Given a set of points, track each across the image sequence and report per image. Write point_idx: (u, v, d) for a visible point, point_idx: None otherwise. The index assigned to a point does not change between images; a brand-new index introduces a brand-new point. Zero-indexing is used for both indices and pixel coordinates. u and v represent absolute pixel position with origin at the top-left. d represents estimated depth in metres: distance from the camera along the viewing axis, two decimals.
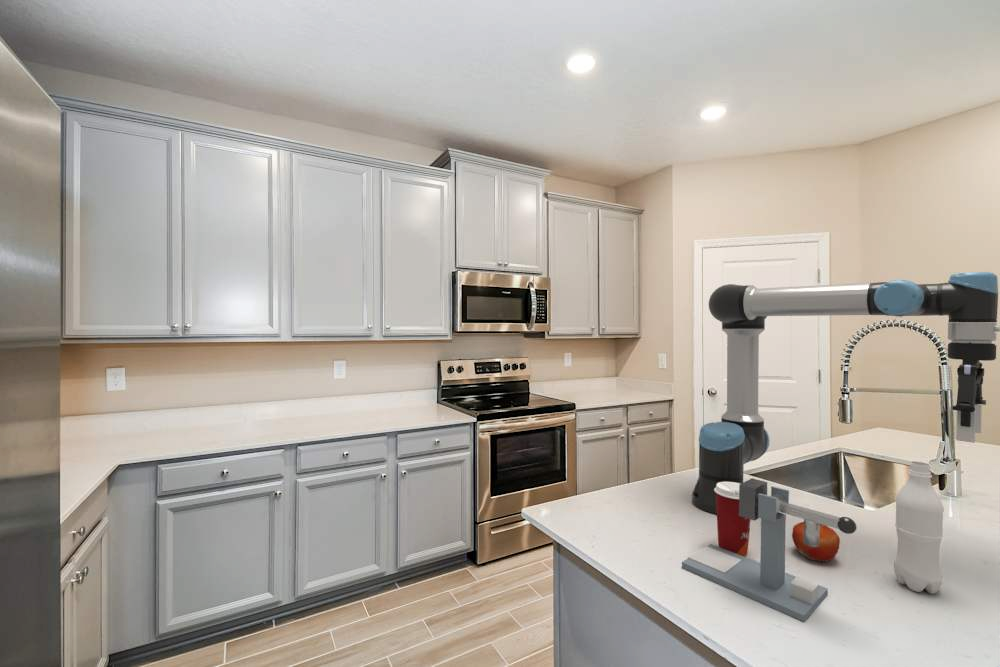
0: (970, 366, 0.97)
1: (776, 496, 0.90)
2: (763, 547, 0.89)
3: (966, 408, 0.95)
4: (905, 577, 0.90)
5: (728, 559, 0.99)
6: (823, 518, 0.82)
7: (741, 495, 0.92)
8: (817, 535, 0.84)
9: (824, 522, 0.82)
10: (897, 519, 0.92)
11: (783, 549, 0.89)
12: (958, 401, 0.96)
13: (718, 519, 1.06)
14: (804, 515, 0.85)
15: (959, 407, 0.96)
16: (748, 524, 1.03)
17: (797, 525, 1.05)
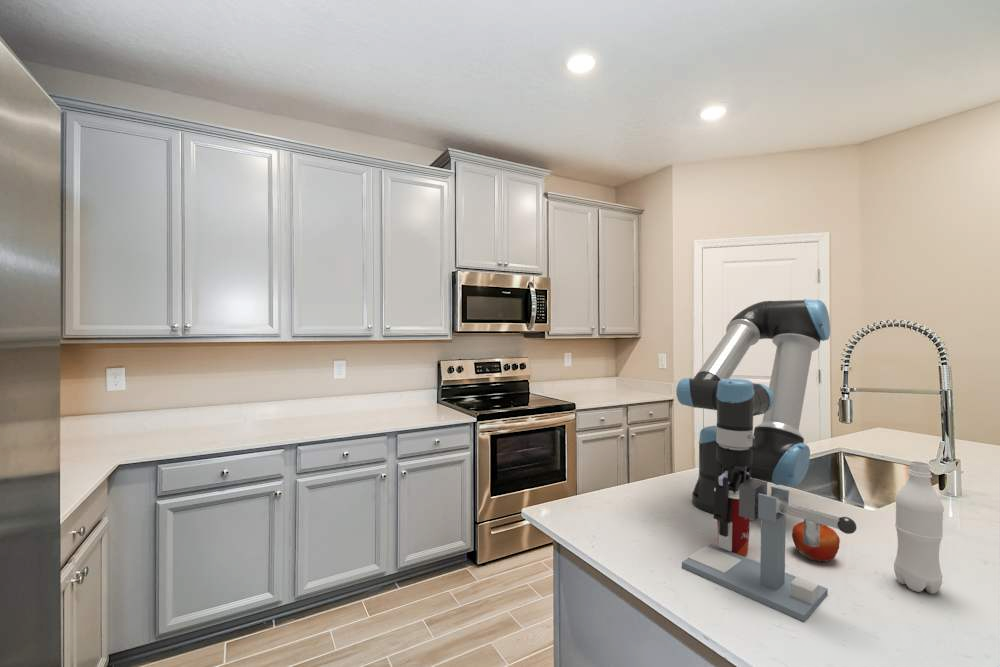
0: (722, 479, 1.01)
1: (776, 496, 0.90)
2: (763, 547, 0.89)
3: (720, 520, 1.01)
4: (905, 577, 0.90)
5: (728, 559, 0.99)
6: (823, 518, 0.82)
7: (741, 495, 0.92)
8: (817, 535, 0.84)
9: (824, 522, 0.82)
10: (897, 519, 0.92)
11: (783, 549, 0.89)
12: (714, 513, 1.02)
13: None
14: (804, 515, 0.85)
15: (716, 518, 1.02)
16: (748, 524, 1.03)
17: (797, 525, 1.05)
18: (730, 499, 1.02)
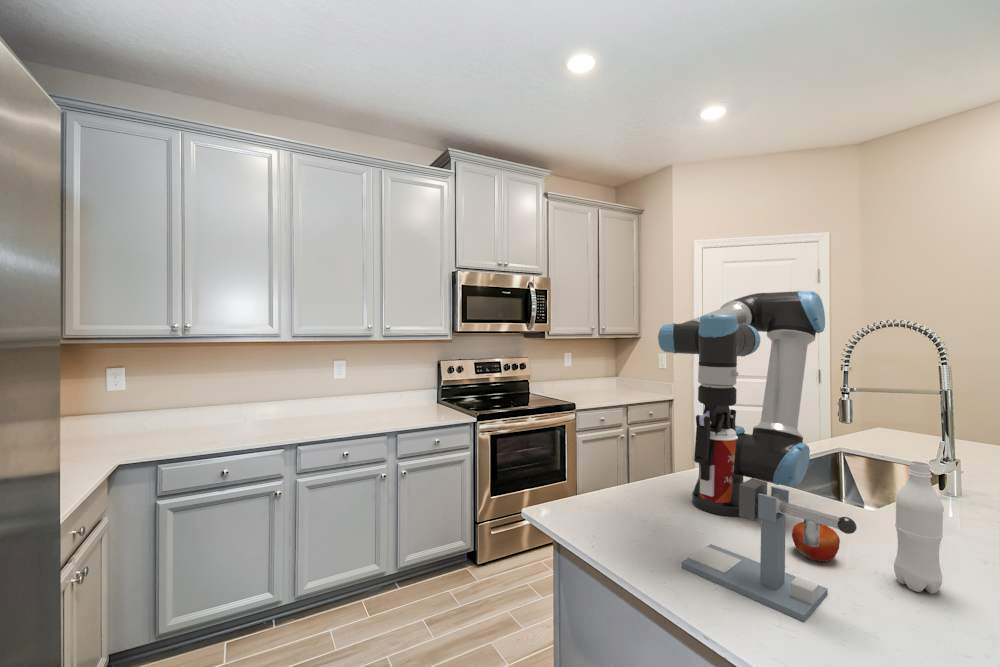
0: (703, 418, 0.94)
1: (776, 496, 0.90)
2: (763, 547, 0.89)
3: (701, 463, 0.94)
4: (905, 577, 0.90)
5: (728, 559, 0.99)
6: (823, 518, 0.82)
7: (741, 495, 0.92)
8: (817, 535, 0.84)
9: (824, 522, 0.82)
10: (897, 519, 0.92)
11: (783, 549, 0.89)
12: (695, 455, 0.95)
13: None
14: (804, 515, 0.85)
15: (696, 461, 0.95)
16: (731, 468, 0.96)
17: (797, 525, 1.05)
18: (712, 441, 0.95)
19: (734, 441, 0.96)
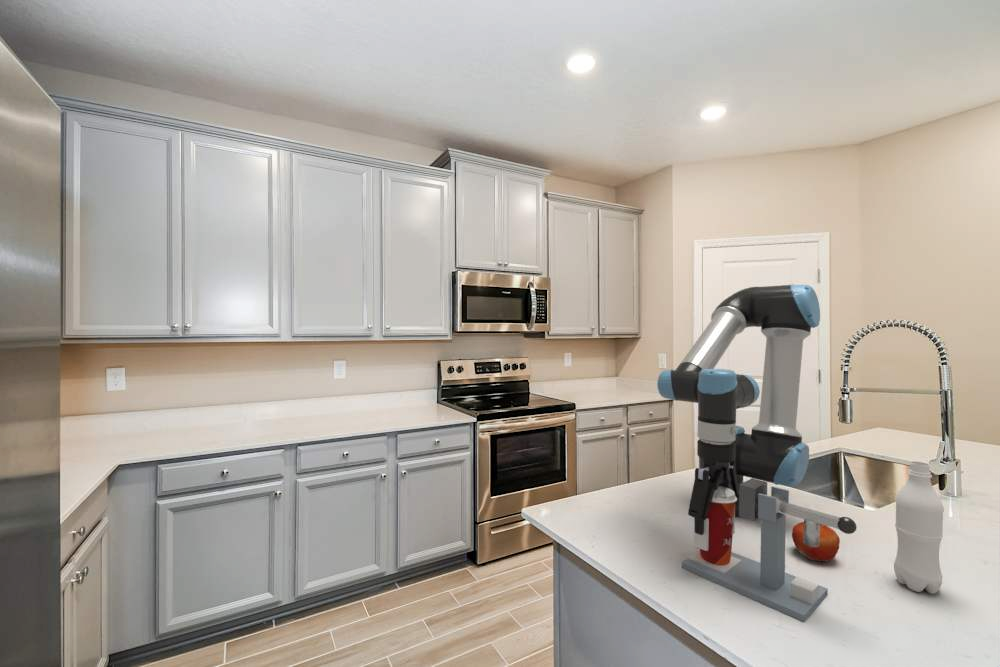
0: (702, 471, 0.94)
1: (776, 496, 0.90)
2: (763, 547, 0.89)
3: (695, 517, 0.93)
4: (905, 577, 0.90)
5: None
6: (823, 518, 0.82)
7: (741, 495, 0.92)
8: (817, 535, 0.84)
9: (824, 522, 0.82)
10: (897, 519, 0.92)
11: (783, 549, 0.89)
12: (690, 508, 0.94)
13: None
14: (804, 515, 0.85)
15: (690, 515, 0.93)
16: (731, 530, 0.96)
17: (797, 525, 1.05)
18: (709, 495, 0.95)
19: (733, 503, 0.96)
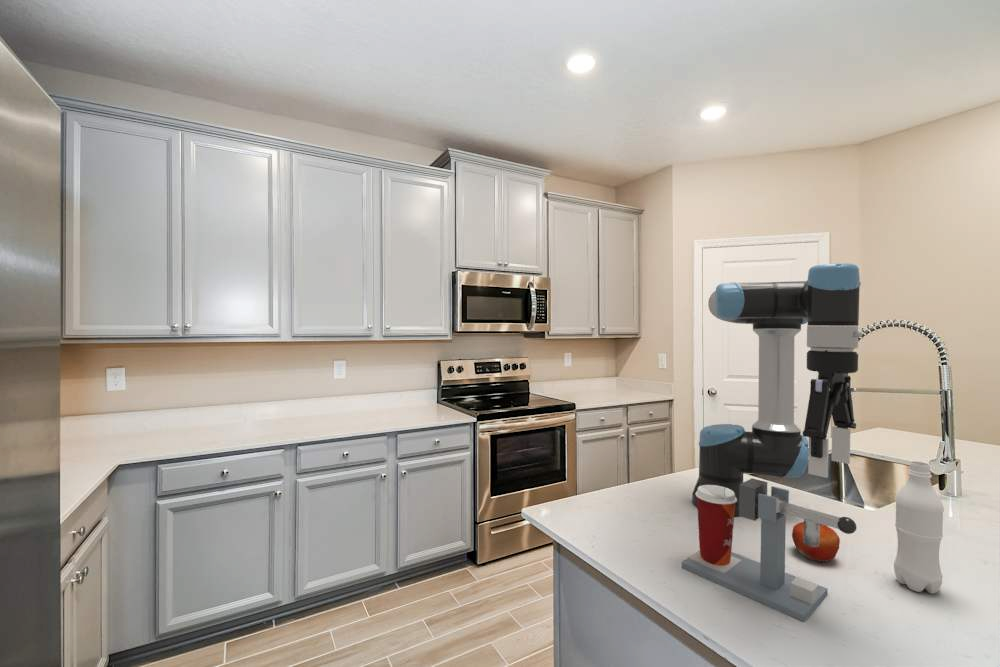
0: (822, 381, 0.77)
1: (776, 496, 0.90)
2: (763, 547, 0.89)
3: (814, 435, 0.76)
4: (905, 577, 0.90)
5: None
6: (823, 518, 0.82)
7: (741, 495, 0.92)
8: (817, 535, 0.84)
9: (824, 522, 0.82)
10: (897, 519, 0.92)
11: (783, 549, 0.89)
12: (806, 426, 0.77)
13: (699, 525, 0.99)
14: (804, 515, 0.85)
15: (807, 434, 0.77)
16: (731, 530, 0.96)
17: (797, 525, 1.05)
18: (828, 411, 0.78)
19: (733, 504, 0.96)
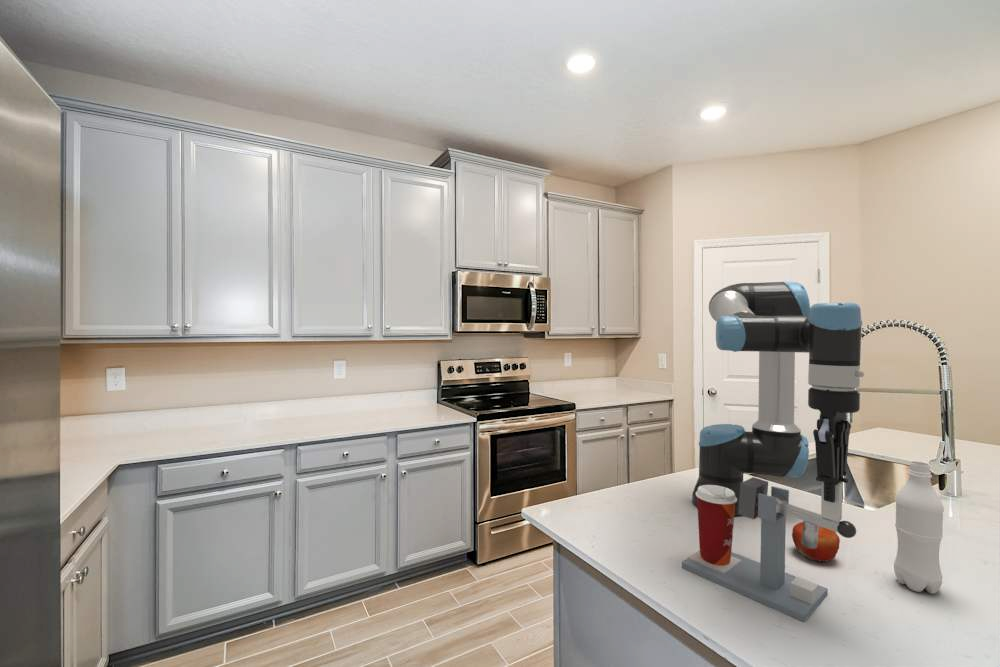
0: (824, 435, 0.78)
1: (776, 496, 0.90)
2: (763, 547, 0.89)
3: (828, 482, 0.80)
4: (905, 577, 0.90)
5: None
6: (823, 521, 0.82)
7: (741, 494, 0.91)
8: (816, 537, 0.84)
9: (824, 525, 0.82)
10: (897, 519, 0.92)
11: (783, 549, 0.89)
12: (818, 474, 0.80)
13: (699, 525, 0.99)
14: (804, 517, 0.85)
15: (821, 479, 0.80)
16: (731, 530, 0.96)
17: (797, 525, 1.05)
18: (835, 456, 0.80)
19: (733, 504, 0.96)
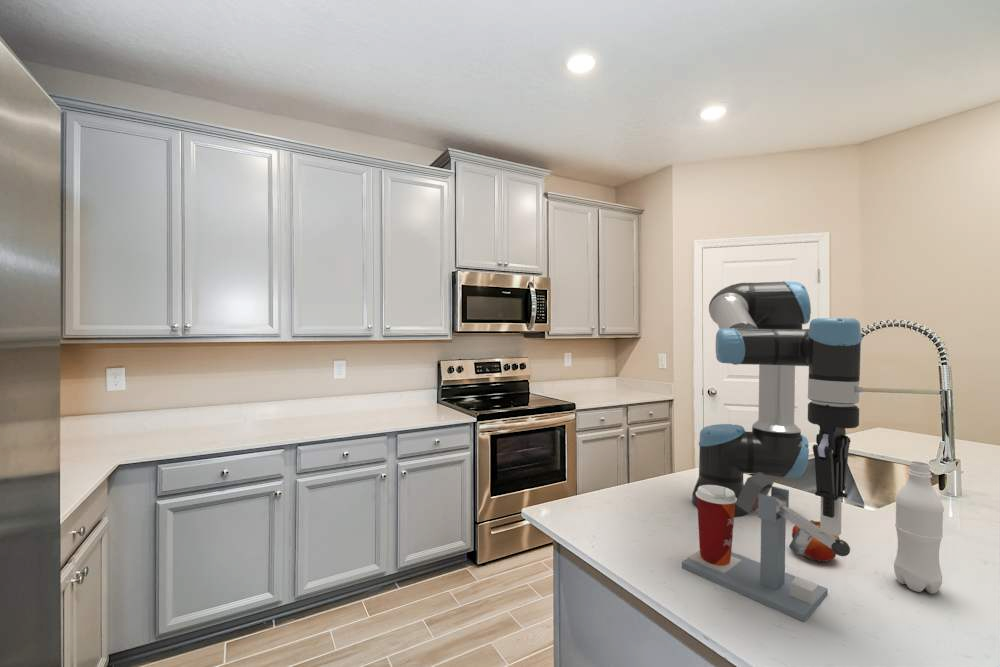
0: (824, 450, 0.78)
1: (779, 498, 0.90)
2: (763, 547, 0.89)
3: (827, 497, 0.80)
4: (905, 577, 0.90)
5: None
6: (820, 534, 0.83)
7: (745, 488, 0.91)
8: (806, 545, 0.85)
9: (819, 538, 0.83)
10: (897, 519, 0.92)
11: (783, 549, 0.89)
12: (818, 489, 0.80)
13: (699, 525, 0.99)
14: (801, 525, 0.85)
15: (820, 494, 0.80)
16: (731, 530, 0.96)
17: None
18: (835, 472, 0.80)
19: (733, 504, 0.96)
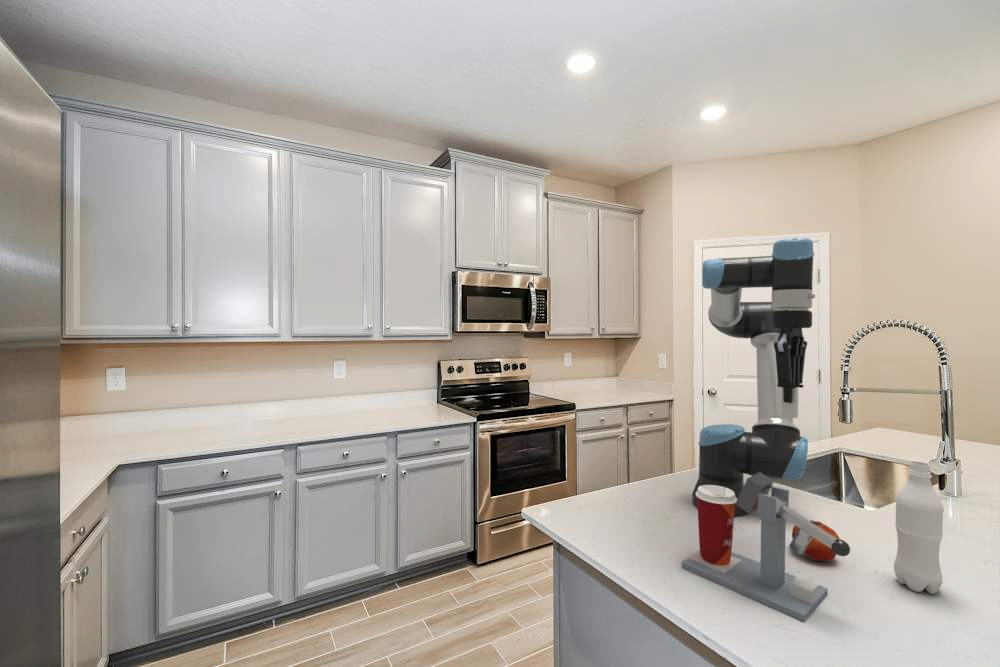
0: (782, 345, 0.95)
1: (779, 498, 0.90)
2: (763, 547, 0.89)
3: (786, 385, 0.97)
4: (905, 577, 0.90)
5: None
6: (820, 534, 0.83)
7: (745, 488, 0.91)
8: (806, 545, 0.85)
9: (819, 538, 0.83)
10: (897, 519, 0.92)
11: (783, 549, 0.89)
12: (778, 379, 0.98)
13: (699, 525, 0.99)
14: (801, 525, 0.85)
15: (780, 383, 0.98)
16: (731, 530, 0.96)
17: None
18: (792, 364, 0.98)
19: (733, 504, 0.96)
